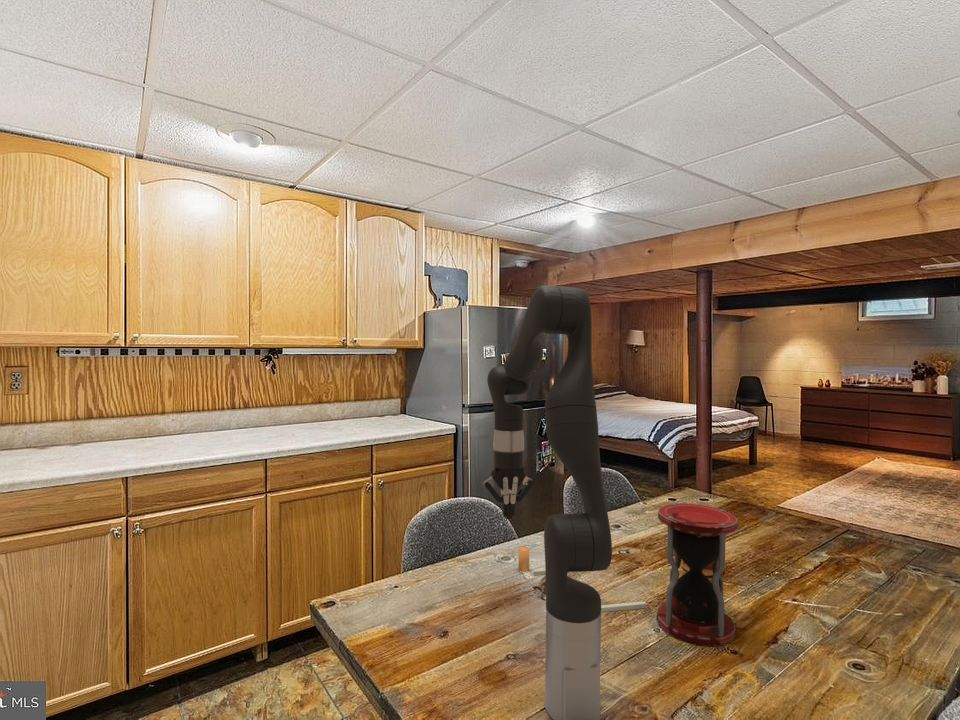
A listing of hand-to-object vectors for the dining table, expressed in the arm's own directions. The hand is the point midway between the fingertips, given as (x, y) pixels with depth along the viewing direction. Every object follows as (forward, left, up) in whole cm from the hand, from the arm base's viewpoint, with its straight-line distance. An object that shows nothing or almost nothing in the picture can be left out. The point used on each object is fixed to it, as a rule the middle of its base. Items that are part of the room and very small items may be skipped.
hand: (508, 518), depth 126 cm
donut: (+6, -56, -20) cm, 60 cm away
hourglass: (-20, -38, -20) cm, 47 cm away
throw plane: (0, -18, -19) cm, 27 cm away
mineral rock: (+1, -12, -20) cm, 24 cm away
